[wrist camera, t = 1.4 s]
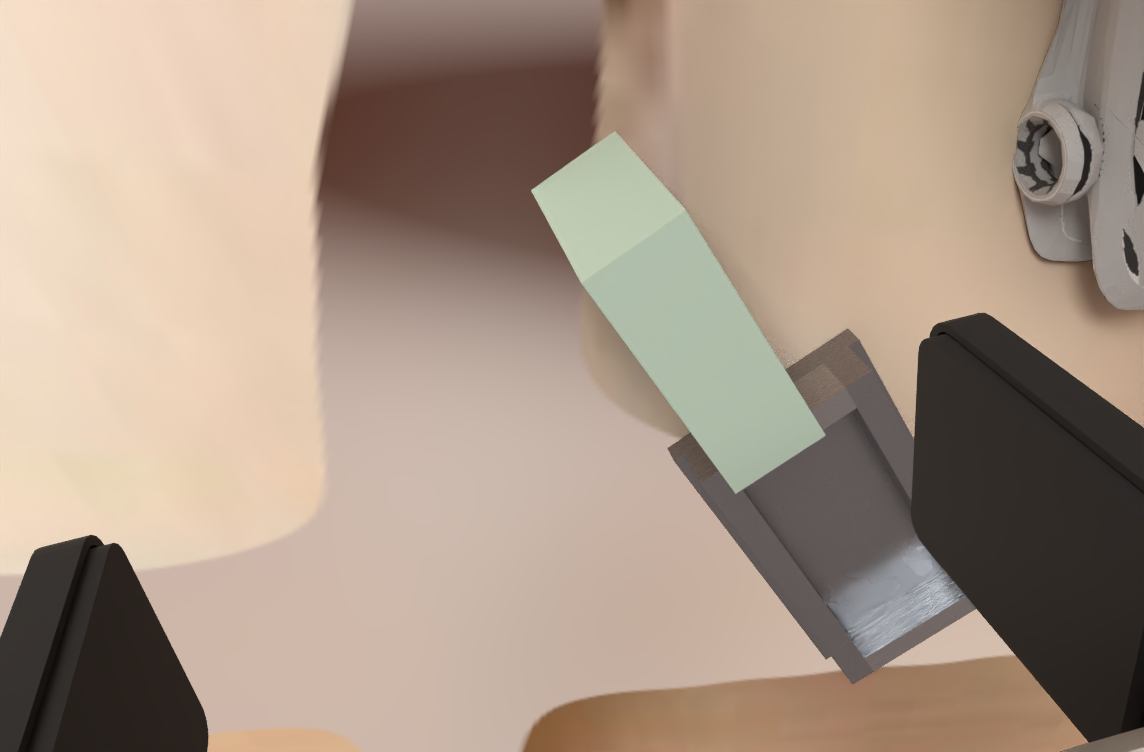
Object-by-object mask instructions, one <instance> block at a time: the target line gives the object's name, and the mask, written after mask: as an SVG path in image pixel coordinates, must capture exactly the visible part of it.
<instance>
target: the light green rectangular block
mask: <svg viewBox="0 0 1144 752" xmlns="http://www.w3.org/2000/svg"><path fill="white" fill-rule="evenodd" d="M531 191H532V193H533V195H534V197H535V199H536V200H537V202H538V204H539V206H540V208H541V210H542V212H543V213H544V215H545V217H546V219H547V221H548V222H549V224H550V226H551V228H552V230H553V232H554V234H555V236H556V237H557V239H558V241H559V243H560V245H561V247H562V248H563V250H564V252H565V254H566V256H567V258H568V259H569V261H570V263H571V265H572V267H573V269H574V271H575V273H576V274H577V276H578V278H579V280H580V282H581V284H582V285H583V286H584V288H585V289H586V290H587V292H588V293H589V294H590V296H591V297H592V299H593V300H594V301H595V303H596V304H597V305H598V307H599V308H600V309H601V311H602V312H603V314H604V315H605V316H606V318H607V319H608V320H609V322H610V323H611V324H612V326H613V327H614V329H615V330H616V331H617V333H618V334H619V335H620V337H621V338H622V339H623V341H624V342H625V344H626V345H627V346H628V348H629V349H630V350H631V352H632V353H633V354H634V356H635V357H636V359H637V360H638V361H639V363H640V364H641V365H642V367H643V368H644V369H645V371H646V372H647V374H648V375H649V376H650V378H651V379H652V380H653V382H654V383H655V384H656V386H657V387H658V389H659V390H660V391H661V393H662V394H663V395H664V397H665V398H666V399H667V401H668V402H669V404H670V405H671V406H672V408H673V409H674V410H675V412H676V413H677V414H678V416H679V417H680V419H681V420H682V421H683V423H684V424H685V425H686V427H687V428H688V429H689V431H690V432H691V434H692V435H693V436H694V438H695V439H696V440H697V442H698V443H699V444H700V446H701V447H702V449H703V450H704V451H705V453H706V454H707V455H708V457H709V458H710V459H711V461H712V462H713V464H714V465H715V466H716V468H717V469H718V470H719V472H720V473H721V474H722V476H723V477H724V479H725V480H726V481H727V483H728V484H729V485H730V487H731V488H732V489H733V491H734V492H735V494H736V493H738V492H740V491H741V490H743V489H744V488H746V487H747V486H749V485H750V484H752V483H753V482H755V481H756V480H758V479H760V478H761V477H763V476H764V475H766V474H767V473H769V472H770V471H772V470H773V469H775V468H776V467H778V466H780V465H781V464H783V463H784V462H786V461H787V460H789V459H790V458H792V457H793V456H795V455H796V454H798V453H800V452H801V451H803V450H804V449H806V448H807V447H809V446H810V445H812V444H813V443H815V442H817V441H818V440H820V439H821V438H823V437H824V436H826V435H825V433H824V432H823V430H822V428H821V427H820V425H819V423H818V422H817V420H816V419H815V417H814V415H813V414H812V412H811V411H810V409H809V407H808V406H807V404H806V403H805V401H804V399H803V398H802V396H801V395H800V393H799V391H798V390H797V388H796V386H795V385H794V383H793V382H792V380H791V378H790V377H789V375H788V374H787V372H786V370H785V369H784V367H783V366H782V364H781V362H780V361H779V359H778V357H777V356H776V354H775V353H774V351H773V349H772V348H771V346H770V345H769V343H768V341H767V340H766V338H765V337H764V335H763V333H762V332H761V330H760V329H759V327H758V325H757V324H756V322H755V320H754V319H753V317H752V316H751V314H750V312H749V311H748V309H747V308H746V306H745V304H744V303H743V301H742V300H741V298H740V296H739V295H738V293H737V291H736V290H735V288H734V287H733V285H732V283H731V282H730V280H729V279H728V277H727V275H726V274H725V272H724V271H723V269H722V267H721V266H720V264H719V263H718V261H717V259H716V258H715V256H714V254H713V253H712V251H711V250H710V248H709V246H708V245H707V243H706V242H705V240H704V238H703V237H702V235H701V234H700V232H699V230H698V229H697V227H696V226H695V224H694V222H693V221H692V219H691V217H690V216H689V214H688V213H687V211H686V210H685V209H684V207H683V206H682V205H681V204H680V203H679V202H678V201H677V200H676V198H675V197H674V196H673V195H672V194H671V193H670V192H669V191H668V190H667V188H666V187H665V186H664V185H663V184H662V183H661V182H660V181H659V180H658V178H657V177H656V176H655V175H654V174H653V173H652V172H651V171H650V169H649V168H648V167H647V166H646V165H645V164H644V163H643V162H642V161H641V159H640V158H639V157H638V156H637V155H636V154H635V153H634V152H633V150H632V149H631V148H630V147H629V146H628V145H627V144H626V143H625V142H624V140H623V139H622V138H621V137H620V136H619V135H618V134H617V133H616V131H614V132H613V133H612V134H610V135H609V136H607V137H606V138H605V139H603V140H602V141H600V142H599V143H598V144H595V145H594V146H592V147H591V148H590V149H588V150H587V151H585V152H584V153H583V154H581V155H580V156H578V157H577V158H576V159H574V160H573V161H572V162H570V163H569V164H567V165H566V166H564V167H563V168H562V169H560V170H559V171H557V172H556V173H554V174H553V175H552V176H550V177H549V178H547V179H546V180H545V181H543V182H542V183H540V184H539V185H538V186H536V187H535V188H533V189H532V190H531Z"/></svg>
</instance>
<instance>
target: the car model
mask: <svg viewBox="0 0 1144 752" xmlns="http://www.w3.org/2000/svg"><path fill="white" fill-rule="evenodd" d="M1035 111H1036V112H1035ZM1031 113H1032V114H1031ZM1021 120H1022V121H1021ZM1141 120H1142V121H1141ZM1017 128H1018V135H1017V148H1016V152H1015V154H1014V156H1013V165H1012V170H1013V174H1014V177H1015V181H1016V183H1017V186H1018V188H1019V192H1020V196H1021V201H1022V206H1023V210H1024V215H1025V220H1026V224H1027V229H1028V233H1029V238H1030V240H1031V242H1032V244H1033V247H1034V249H1035V250H1036V251H1037V252H1038V253H1039V255H1040V256H1041V257H1043V258H1046V259H1049V260H1054V261H1089V260H1091V259H1092V261H1093V269H1094V273H1095V276H1096V279H1097V283H1098V286H1099V288H1100V290H1101V292H1102V293H1103V295H1104V297H1105V299H1107V301H1108V302H1109V303H1111V304H1112V305H1113V306H1115V307H1116V308H1118V309H1123V310H1144V0H1063V5H1062V9H1061V14H1060V19H1059V23H1058V27H1057V29H1056V32H1055V34H1054V37H1053V39H1052V42H1051V44H1050V47H1049V49H1048V52H1047V54H1046V57H1045V59H1044V62H1043V64H1042V67H1041V69H1040V72H1039V74H1038V77H1037V79H1036V82H1035V85H1034V87H1033V90H1032V93H1031V96H1030V99H1029V101H1028V104H1027V106H1026V107H1025V109H1024V111H1023V113H1022V116H1021V118H1020V120H1019V122H1018V126H1017ZM1051 128H1052V129H1051ZM1050 129H1051V130H1050ZM1049 130H1050V131H1049ZM1023 190H1024V191H1023Z"/></svg>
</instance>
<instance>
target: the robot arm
mask: <svg viewBox="0 0 1144 752" xmlns="http://www.w3.org/2000/svg"><path fill="white" fill-rule="evenodd" d="M911 519H912V524H913V527H914V530H915V532H916V534H917V537H918V539H919V540H920V541H921V543H922V544H923V545H924V547H925V548H926V549H927V550H928V551H929V553H930V554H931V555H932V556H933V557H934V559H935V560H936V561H937V562H938V563H939V565H940V566H941V567H942V568H943V569H944V570H945V572H946V573H947V574H948V575H949V576H950V578H951V579H952V580H953V581H954V582H955V584H956V585H957V586H958V587H959V588H960V590H961V591H962V592H963V593H964V594H965V595H966V597H967V598H968V599H969V600H970V601H971V603H972V604H973V605H974V606H975V607H976V609H977V610H978V611H979V612H980V613H981V614H982V616H983V617H984V618H985V619H986V620H987V622H988V623H989V624H990V625H991V626H992V627H993V629H994V630H995V631H996V632H997V633H998V635H999V636H1000V637H1001V638H1002V639H1003V641H1004V642H1005V643H1006V644H1007V645H1008V647H1009V648H1010V649H1011V650H1012V651H1013V653H1014V654H1015V655H1016V656H1017V657H1018V659H1019V660H1020V661H1021V662H1022V663H1023V664H1024V666H1025V667H1026V668H1027V669H1028V670H1029V672H1030V673H1031V674H1032V675H1033V676H1034V678H1035V679H1036V680H1037V681H1038V682H1039V684H1040V685H1041V686H1042V687H1043V688H1044V689H1045V691H1046V692H1047V693H1048V694H1049V695H1050V697H1051V698H1052V699H1053V700H1054V701H1055V703H1056V704H1057V705H1058V706H1059V707H1060V708H1061V710H1062V711H1063V712H1064V713H1065V714H1066V716H1067V717H1068V718H1069V719H1070V720H1071V722H1072V723H1073V724H1074V725H1075V726H1076V728H1077V729H1078V730H1079V731H1080V732H1081V733H1082V735H1083V736H1084V737H1085V738H1086V739H1087V741H1088V742H1089V743H1086V744H1083V745H1080V746H1076V747H1073V748H1070V749H1067V750H1063V751H1060V752H1144V428H1143V427H1142V426H1141V425H1139V424H1138V423H1136V422H1135V421H1134V420H1132V419H1131V418H1130V417H1128V416H1127V415H1126V414H1124V413H1123V412H1121V411H1120V410H1119V409H1117V408H1116V407H1115V406H1113V405H1112V404H1111V403H1109V402H1108V401H1106V400H1105V399H1104V398H1102V397H1101V396H1100V395H1098V394H1097V393H1096V392H1094V391H1093V390H1091V389H1090V388H1089V387H1087V386H1086V385H1085V384H1083V383H1082V382H1081V381H1079V380H1078V379H1076V378H1075V377H1074V376H1072V375H1071V374H1070V373H1068V372H1067V371H1066V370H1064V369H1063V368H1061V367H1060V366H1059V365H1057V364H1056V363H1055V362H1053V361H1052V360H1051V359H1049V358H1048V357H1046V356H1045V355H1044V354H1042V353H1041V352H1040V351H1038V350H1037V349H1036V348H1034V347H1033V346H1031V345H1030V344H1029V343H1027V342H1026V341H1025V340H1023V339H1022V338H1021V337H1019V336H1018V335H1016V334H1015V333H1014V332H1012V331H1011V330H1010V329H1008V328H1007V327H1006V326H1004V325H1003V324H1001V323H1000V322H999V321H997V320H996V319H995V318H993V317H992V316H990V315H988V314H986V313H977V314H973V315H969V316H965V317H961V318H957V319H953V320H949V321H945V322H941V323H938V324H936V325H935V326H934V327H933V329H932V331H931V333H930V338H927V339H924V340H923V341H922V342H921V344H920V346H919V352H918V373H917V394H916V415H915V436H914V457H913V479H912V500H911ZM207 748H208V728H207V721H206V717H205V713H204V710H203V708H202V706H201V704H200V702H199V700H198V698H197V696H196V694H195V692H194V690H193V688H192V686H191V684H190V682H189V680H188V678H187V676H186V674H185V672H184V670H183V668H182V666H181V664H180V662H179V660H178V658H177V656H176V654H175V652H174V650H173V648H172V646H171V644H170V642H169V640H168V638H167V636H166V634H165V632H164V630H163V628H162V626H161V624H160V622H159V620H158V618H157V616H156V614H155V612H154V610H153V608H152V606H151V604H150V602H149V600H148V598H147V596H146V594H145V592H144V590H143V588H142V586H141V584H140V582H139V580H138V578H137V576H136V574H135V572H134V570H133V568H132V566H131V564H130V562H129V560H128V558H127V556H126V554H125V552H124V551H123V549H122V548H121V547H120V546H119V545H118V544H116V543H112V544H108V545H104V544H103V543H102V541H101V540H100V539H99V538H98V537H97V536H94V535H89V536H85V537H81V538H77V539H73V540H69V541H65V542H61V543H57V544H53V545H49V546H45V547H41V548H39V549H37V550H35V551H34V553H33V555H32V556H31V559H30V561H29V564H28V566H27V569H26V572H25V574H24V577H23V580H22V582H21V585H20V587H19V590H18V593H17V596H16V598H15V601H14V603H13V606H12V609H11V611H10V614H9V617H8V619H7V622H6V625H5V627H4V630H3V632H2V635H1V637H0V752H207Z"/></svg>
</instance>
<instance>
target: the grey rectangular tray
mask: <svg viewBox="0 0 1144 752" xmlns="http://www.w3.org/2000/svg"><path fill="white" fill-rule="evenodd" d="M786 372H787V374H788V375H789V377H790V378H791V380H792V382H793V383H794V385H795V386H796V388H797V390H798V391H799V393H800V395H801V396H802V398H803V399H804V401H805V403H806V404H807V406H808V407H809V409H810V411H811V412H812V414H813V415H814V417H815V419H816V420H817V422H818V423H819V425H820V427H821V428H822V430H823V432H824V433H825V435H826V436H824V437H823V438H821V439H820V440H818V441H817V442H815V443H813V444H812V445H810V446H809V447H807V448H806V449H804V450H803V451H801V452H800V453H798V454H796V455H795V456H793V457H792V458H790V459H789V460H787V461H786V462H784V463H783V464H781V465H780V466H778V467H776V468H775V469H773V470H772V471H770V472H769V473H767V474H766V475H764V476H763V477H761V478H760V479H758V480H756V481H755V482H753V483H752V484H750V485H749V486H747V487H746V488H744V489H743V490H741V491H740V492H738V493H736V494H735V492H734V491H733V489H732V488H731V487H730V485H729V484H728V483H727V481H726V480H725V479H724V477H723V476H722V474H721V473H720V472H719V470H718V469H717V468H716V466H715V465H714V464H713V462H712V461H711V459H710V458H709V457H708V455H707V454H706V453H705V451H704V450H703V449H702V447H701V446H700V444H699V443H698V442H697V440H696V439H695V438H694V436H693V435H692V434H691V433H690V434H688V435H687V436H685V437H684V438H682V439H681V440H679V441H678V442H676V443H675V444H673V445H672V446H670V447H669V448H668V450H669V452H670V454H671V456H672V457H673V459H674V461H675V463H676V464H677V465H678V467H679V468H680V469H681V471H682V472H683V473H684V475H685V476H686V477H687V478H688V480H689V481H690V482H691V484H692V485H693V486H694V488H695V489H696V490H697V491H698V493H699V494H700V495H701V497H702V498H703V499H704V501H705V502H706V503H707V505H708V506H709V507H710V508H711V510H712V511H713V512H714V514H715V515H716V516H717V518H718V519H719V520H720V522H721V523H722V524H723V525H724V527H725V528H726V529H727V531H728V532H729V533H730V534H731V536H732V537H733V539H734V540H735V541H736V542H737V544H738V545H739V546H740V548H741V549H742V550H743V552H744V553H745V554H746V555H747V557H748V558H749V559H750V561H751V562H752V563H753V564H754V566H755V567H756V569H757V570H758V571H759V573H760V574H761V575H762V576H763V578H764V579H765V580H766V582H767V583H768V584H769V586H770V587H771V588H772V589H773V591H774V592H775V593H776V595H777V596H778V597H779V599H780V600H781V601H782V603H783V604H784V605H785V606H786V608H787V609H788V610H789V612H790V613H791V614H792V616H793V617H794V618H795V620H796V621H797V622H798V623H799V625H800V626H801V627H802V629H803V630H804V631H805V632H806V634H807V635H808V637H809V638H810V639H811V640H812V642H813V643H814V644H815V646H816V647H817V648H818V649H819V651H820V652H821V654H822V655H823V656H824V657H825V659H827V658H829V657H831V656H832V658H833V659H834V660H835V662H836V663H837V664H838V666H839V667H840V668H841V670H842V671H843V672H844V674H845V675H846V676H847V678H848V679H849V680H850V681H851V683H852V684H854V683H856V682H857V681H859V680H861V679H862V678H864V677H865V676H867V675H869V674H870V673H872V672H874V671H875V670H877V669H878V668H880V667H882V666H883V665H885V664H887V663H888V662H890V661H891V660H893V659H895V658H896V657H898V656H900V655H901V654H903V653H904V652H906V651H908V650H909V649H911V648H913V647H914V646H916V645H918V644H919V643H921V642H923V641H924V640H926V639H927V638H929V637H931V636H932V635H934V634H936V633H937V632H939V631H940V630H942V629H944V628H945V627H947V626H949V625H950V624H952V623H954V622H955V621H957V620H958V619H960V618H962V617H963V616H965V615H966V614H968V613H970V612H971V611H973V610H975V609H976V607H975V606H974V605H973V604H972V603H971V601H970V600H969V599H968V598H967V597H966V595H965V594H964V593H963V592H962V591H961V590H960V588H959V587H958V586H957V585H956V584H955V582H954V581H953V580H952V579H951V578H950V576H949V575H948V574H947V573H946V572H945V570H944V569H943V568H942V567H941V566H940V565H939V563H938V562H937V561H936V560H935V559H934V557H933V556H932V555H931V554H930V553H929V551H928V550H927V549H926V548H925V547H924V545H923V544H922V543H921V541H920V540H919V539H918V537H917V534H916V532H915V530H914V527H913V524H912V519H911V500H912V479H913V457H914V439H913V437H912V435H911V433H910V432H909V430H908V428H907V426H906V424H905V423H904V421H903V419H902V417H901V415H900V413H899V412H898V410H897V408H896V406H895V404H894V403H893V401H892V399H891V397H890V395H889V393H888V392H887V390H886V388H885V386H884V384H883V383H882V381H881V379H880V377H879V375H878V373H877V372H876V370H875V368H874V366H873V364H872V362H871V361H870V359H869V357H868V355H867V353H866V352H865V350H864V348H863V346H862V344H861V342H860V341H859V339H858V338H857V337H856V336H855V335H854V334H853V333H852V332H851V331H850V330H849V329H847V330H845V331H844V332H842V333H841V334H839V335H838V336H836V337H835V338H833V339H832V340H830V341H829V342H827V343H826V344H824V345H823V346H821V347H820V348H818V349H817V350H815V351H813V352H812V353H810V354H809V355H807V356H806V357H804V358H803V359H801V360H800V361H798V362H797V363H795V364H794V365H792V366H791V367H789V368H788V369H786Z"/></svg>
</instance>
